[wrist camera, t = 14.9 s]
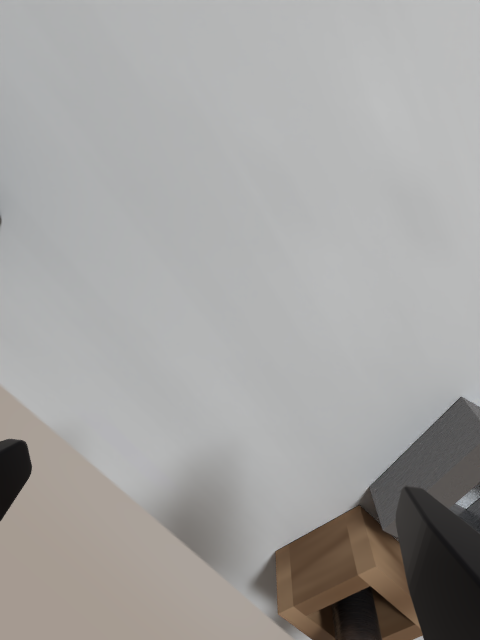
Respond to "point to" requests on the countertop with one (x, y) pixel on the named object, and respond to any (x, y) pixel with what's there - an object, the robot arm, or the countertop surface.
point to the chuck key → (356, 617)
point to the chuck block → (436, 467)
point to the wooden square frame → (344, 577)
